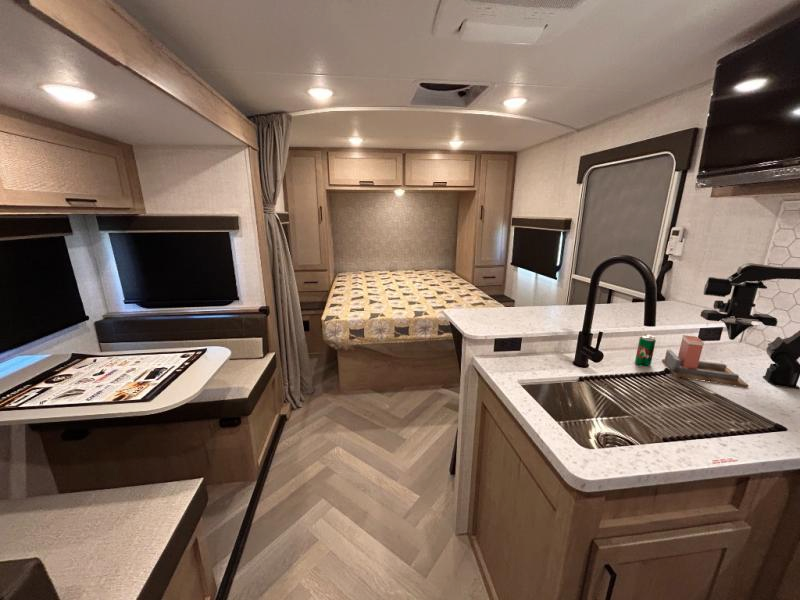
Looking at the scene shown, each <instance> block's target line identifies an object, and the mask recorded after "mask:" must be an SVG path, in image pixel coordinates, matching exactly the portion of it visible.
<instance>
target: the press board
mask: <svg viewBox="0 0 800 600" xmlns="http://www.w3.org/2000/svg"><path fill="white" fill-rule="evenodd" d="M664 360H665V358H662V360H661V361H662V364H664V366H665V367H666V366H667V367H668V368H669V369H670V370H671V368H670V367H669V366H668V365H667V364H666V362H665V361H664ZM668 368H667V369H668ZM669 369H668V370H669ZM697 369H703V370H710V371H718V372H725V373H733V374H736V373H734V371H732V370H731V369H730V368H729V367H727V366H726V369H725V370H717V369H710V368H702V367H697ZM670 370H669V371H670ZM671 372H672V373H671ZM670 373H671V374H672V375H673V376H674V378H678V379H679V378H680V377H682V378H680V379H685V378H690V379H689V380H692V379H698V380H697V381H699V380H705V381H704V382H706V381H710V382H709V383H712V382H717V383H716V384H719V383H722V384H721V385H726V384H730V385H729V386H733V385H736V386H735V387H740V386H742V387H741V388H747V387H748V388H749V384H748V383H747V382H746V381H744V380H743V379H742V378H741V377H739V378H738V381H733V380H726V379H719V378H712V377H705V376H698V375H691V374H684V373H677V372H673V371H672V370H671V371H670Z"/></svg>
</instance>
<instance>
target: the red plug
mask: <svg viewBox="0 0 800 600" xmlns="http://www.w3.org/2000/svg"><path fill="white" fill-rule="evenodd" d="M704 344H705V342H704V341H703V340H701V339H700V338H699V337H698V336H696V335H693V336H692V335H682V337H681V341H680V347H679V350H678V355H677V357H678V358H679V359H680V360H681V363H680V366H681V367H684V366H686V367H688V368H695V369H697V367H698V363H699V361H700V358H701V354H702V351H703V347H704Z"/></svg>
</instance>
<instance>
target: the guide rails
mask: <svg viewBox="0 0 800 600" xmlns="http://www.w3.org/2000/svg"><path fill="white" fill-rule="evenodd" d="M664 359H665V360H664V361H665V362H666V364H667V365H668V366H669V367H670V368H671V370H672V371H673V372H677V373H684V374H691V375H698V376H705V377H712V378H719V379H726V380H733V381H738V378H740V375H738V374H737V373H735V374H733V373H734V372H733V373H725V372H718V371H710V370H703V369H695V368H688V367H686V366H684V367H681V366H680V363H681V360H680V359H679V358H678V355H677V354H676V353H674V351H672V350H671V349H666V352H665V357H664ZM698 367H702V368H710V369H717V370H725V369H726V367H727V365H726V364H725V363H719V362H712V361H703V360H699V363H698Z"/></svg>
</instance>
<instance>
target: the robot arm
mask: <svg viewBox="0 0 800 600" xmlns="http://www.w3.org/2000/svg"><path fill="white" fill-rule="evenodd" d="M769 280H770V281H771V280H800V267H799V266H798V267H797V266H773V265H766V264H761V263H752V262H749V263H748V262H747V263H743V264H741V265H740V266H738V268H737V270H736V272H734V273H732V274H731V275H730V276H728V277H727V278H722V277H721V278H719V277H714V276H709V277H707V281H706V283H705V284H704V288H703V295H704V296H712V297H719V298H720V297H721V298H725V297H727V296H729V295H730V296H731V297H730V298H728V299H727V302H724V301H723V300H720V299H719V300H718V299H717V300H714V302H713V309H703V310H701V312H700V317H701V318H703V319H704V320H705V321H711V322H722V323H724V325H725V327H726V331H727V335H728V340H731V341H733V340H734V341H735V339H736V338H738V337H739V336H740V335H741V334H742V333H743V332H744V331H746V330H748V329H749V328H751V327H754V326H755V325H754V324H752V323H753V322H756V323H757V322H758V323H759V322H760V323H761V324H762V325H764V326H766V327H768V326H769V327H777V325H778V318H776V317H775V316H772V315H770V314H767V313H754V314H751V313H752V309H753V308H755V307H756V303H755V299H756V296H757V294H758V289H763V290H764V289H766V290H767V289H768V286H767V285H765V284H764V281H765V282H766V281H769ZM765 351H766V355H768V357H769V358H770V360H771V361H772V362H773V363H770V365H769V367H768V368H766V371H765V375H762V378H763V379H764V380H766V381H767V382H768V383H770V384H771V385H773V386H775V387H776V386H777V387H783V388H790V389H798V390H799V389H800V386H799V385H798V382H799V379H800V362H799V361H798V359H799V358H800V329H799V330H798V331H796V332H795V333H794V334H793V335H791V336H789V337H787V338H786V337H785V338H782V337H780V336H777V337H776V338H775V339H774V340H773V341H772V342H771V341H770V343H767V347H766V348H765Z"/></svg>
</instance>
